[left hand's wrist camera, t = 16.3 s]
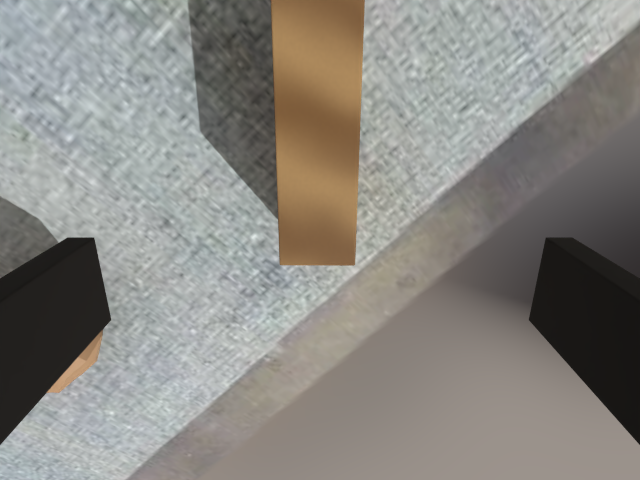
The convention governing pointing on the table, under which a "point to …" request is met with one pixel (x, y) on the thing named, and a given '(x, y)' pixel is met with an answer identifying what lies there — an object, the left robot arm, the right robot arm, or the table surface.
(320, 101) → the bar
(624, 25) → the table surface
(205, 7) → the table surface
